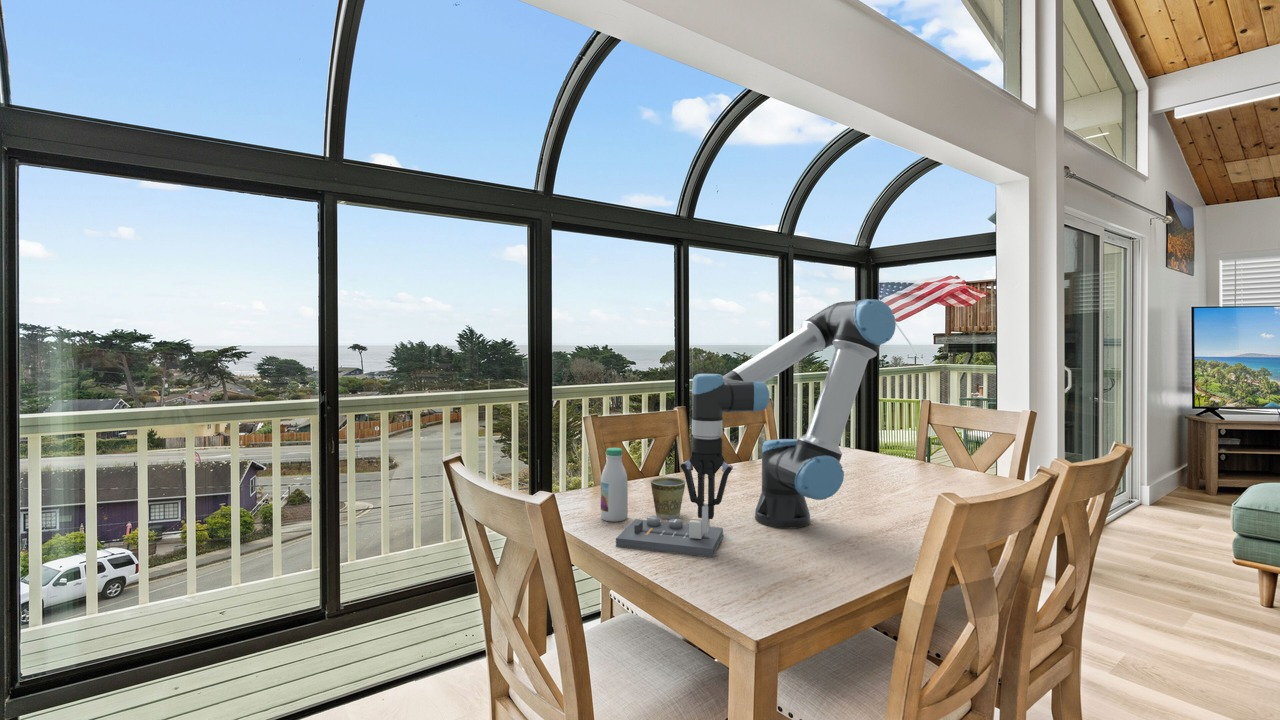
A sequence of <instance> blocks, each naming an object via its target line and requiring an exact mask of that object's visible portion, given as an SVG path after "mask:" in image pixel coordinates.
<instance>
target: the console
mask: <svg viewBox="0 0 1280 720" xmlns="http://www.w3.org/2000/svg"><path fill="white" fill-rule="evenodd" d="M723 537H724V528H723V527H719V526H710V530H709V532H708V533H704V535H703V537H702V538H701V539H696V538H689V523H684V522H683V520H682V519H680V518H671V519H668V521H667V522H666V521H661V518H660V517H658V516H646V519H638V518H635V519H634V520H633V521H632V522H630V524H629V525H628V526H627V527H625V529H624V530H622V532H621V533H620V534H618V536H617V537H615V546H616V547H621V548H629V549H638V550H646V551H647V550H648V551H655V552H663V553H673V554H681V555H690V556H696V557H697V556H699V557H706V558H713V557H714V555H715V553H716V551H717V549H718V546H719V544H720V542H721V540H722V538H723Z"/></svg>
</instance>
